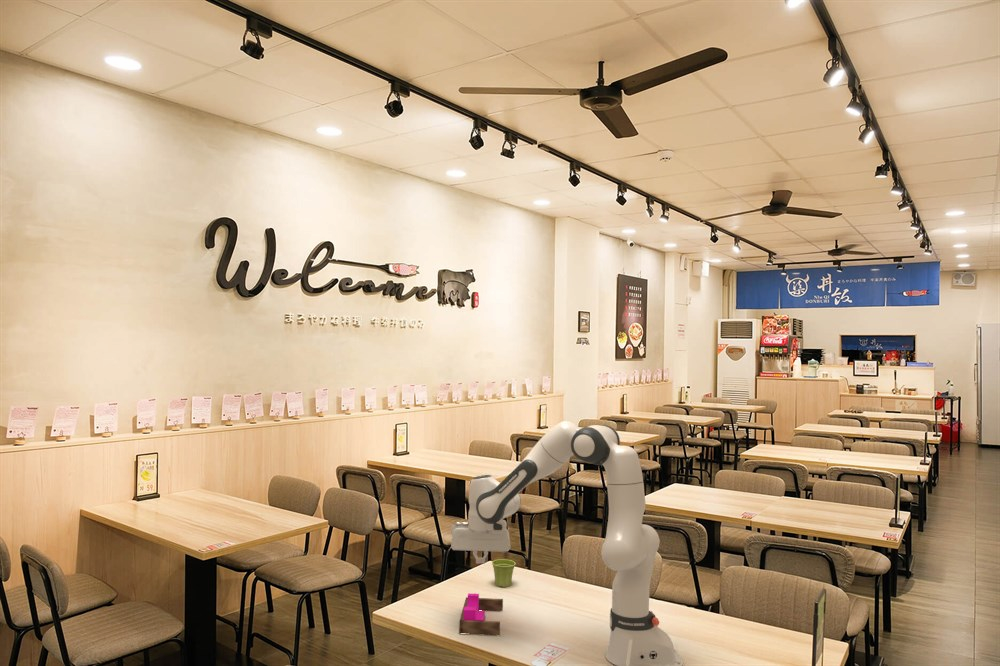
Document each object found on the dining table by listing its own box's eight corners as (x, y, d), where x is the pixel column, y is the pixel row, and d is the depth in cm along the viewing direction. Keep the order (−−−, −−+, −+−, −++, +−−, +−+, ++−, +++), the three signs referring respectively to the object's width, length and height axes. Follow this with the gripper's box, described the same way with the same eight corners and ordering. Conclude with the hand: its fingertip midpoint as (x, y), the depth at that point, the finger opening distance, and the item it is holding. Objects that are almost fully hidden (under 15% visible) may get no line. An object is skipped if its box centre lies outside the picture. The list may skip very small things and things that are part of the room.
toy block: (482, 633, 217) (482, 610, 218) (463, 633, 218) (463, 609, 218) (485, 615, 232) (486, 594, 233) (467, 615, 233) (468, 593, 233)
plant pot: (504, 579, 270) (505, 557, 270) (519, 585, 263) (520, 563, 263) (486, 583, 264) (487, 561, 265) (501, 590, 257) (501, 568, 257)
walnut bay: (502, 610, 237) (502, 598, 237) (499, 635, 216) (499, 623, 216) (465, 608, 238) (466, 597, 238) (459, 633, 217) (459, 621, 217)
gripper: (449, 524, 226) (449, 565, 225) (510, 525, 225) (509, 567, 224) (452, 519, 232) (451, 559, 232) (510, 521, 231) (509, 561, 231)
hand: (480, 563), depth 228 cm, fingers closed
